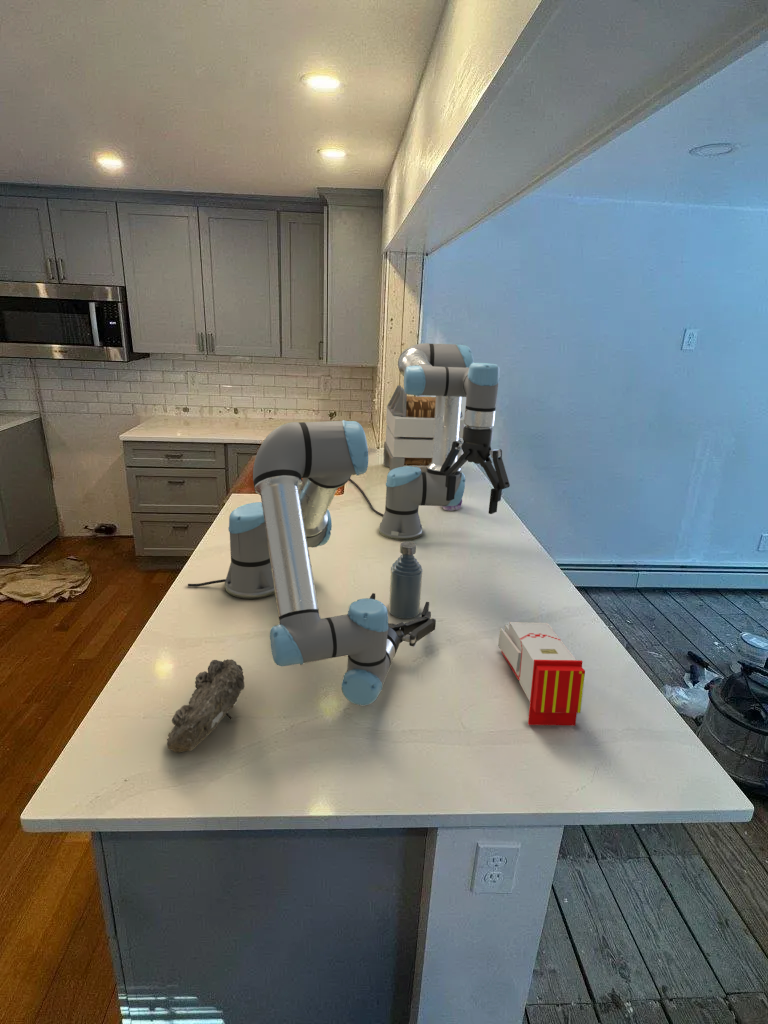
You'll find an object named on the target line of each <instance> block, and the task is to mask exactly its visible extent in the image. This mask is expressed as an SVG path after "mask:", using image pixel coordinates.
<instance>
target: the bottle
mask: <svg viewBox="0 0 768 1024" xmlns="http://www.w3.org/2000/svg"><path fill="white" fill-rule="evenodd" d="M423 572H424V570H423V568H422V565H421V563H420V562H419V561H418V559H417V558H416V557H415V556H414V554H413V555H404V554H402V553H401V555H400V556H399V557H398V558H397V559H396V560H395V561H394V562H393V563H392V565H391V567H390V578H389V579H390V580H389V597H388V599H389V600H388V613H389V614H390V615H391V616H393V617H396V618H399V619H414V618H415V617H418V615H419V614H420V611H421V601H422V598H421V597H422V584H423Z"/></svg>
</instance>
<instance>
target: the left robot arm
mask: <svg viewBox="0 0 768 1024" xmlns="http://www.w3.org/2000/svg"><path fill="white" fill-rule="evenodd" d="M368 468H369V449H368V440H367V437H366V432H365V430H364V427H363V426H362V425H361V423H360V422H358V421H355V420H345V419H342V420H329V421H327V420H326V421H303V422H300V421H293V422H287V423H283V424H281V425H279V426H277V427H276V428H275V429H273V430H272V431H271V432H270V433H268V435H266V437H265V438H264V440H263V441H262V443H261V444H260V446H259V448H258V450H257V453H256V455H255V459H254V462H253V469H252V481H253V482H252V483H253V489H254V492H255V494H258V495H259V496H260V501H261V502H260V501H259V502H257V501H256V502H249V503H246V504H242V505H239V506H238V507H236V508H234V509H233V510H232V511H231V512H230V514H229V516H228V518H229V519H228V527H227V528H228V532H229V548H230V549H229V550H230V551H229V552H230V564H229V568H228V571H227V573H226V578H224V579H217V580H210V581H205V582H200V583H187V587H192V588H193V587H204V586H208V585H214V584H220V583H221V584H222V583H224V585H225V592H227V594H228V595H230V596H232V597H235V598H238V599H245V600H254V599H262V598H267V597H269V596H273V595H274V597H275V601H276V609H277V615H278V622H279V623H278V624H277V625H273V626H271V628H270V629H269V642H270V645H269V646H270V652H271V656H272V659H273V662H274V664H275V665H277V666H279V667H289V666H296V665H300V666H302V665H304V664H308V663H313V662H318V661H324V660H328V659H335V658H341V657H346V656H347V669H346V671H345V672H344V674H343V676H342V681H341V686H340V687H341V692H342V694H343V696H344V697H345V699H346V700H347V701H349V702H350V703H351V704H354V705H358V706H369V705H371V704H373V703H374V702H376V700H377V699H378V697H379V695H380V693H381V692H382V690H383V687H384V684H385V681H386V679H387V676H388V673H389V671H390V669H391V666H392V663H393V661H394V659H395V657H396V654H397V651H398V649H399V647H400V644H401V643H403V642H407V643H408V645H409V646H410V647H415V645H416V644H417V643H418V642H419V641H420V640H422V639H423V638H425V637H426V636H428V635H429V634H431V633H433V632H434V631H435V630H436V623H437V619H436V618H431V616H432V612H431V611H430V610H429V609H430V601H425V603H424V606H423V608H422V612H421V615H420V617H418V618H415V619H413V620H409V621H407V622H403V621H401V622H399V623H390V622H389V614H388V613H389V610H388V608H387V606H386V605H385V604H384V603H383V602H382V601H380V600H378V599H376V593H375V592H372V593H371V595H370V596H369V598H367V597H365V598H359V599H357V600H356V601H353V602H351V603H350V604H349V606H348V611H347V614H341V615H335V616H328V617H322V618H321V616H320V609H319V608H320V607H319V603H318V597H317V592H316V585H315V580H314V574H313V568H312V562H311V556H310V550H309V548H313V549H314V548H317V547H322V546H325V545H326V544H327V543H328V542H329V540H330V538H331V535H332V533H331V531H332V527H333V525H332V523H333V521H332V515H331V513H330V510H329V507H330V505H331V504H332V501H333V499H334V497H335V495H336V493H337V491H338V488H339V489H340V488H341V487H343V486H345V485H346V484H347V483H348V482H349V481H350V480H349V479H351V477H352V476H355V475H356V476H360V475H364V474H365V473H366V472H367V471H368Z"/></svg>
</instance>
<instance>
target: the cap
mask: <svg viewBox="0 0 768 1024" xmlns="http://www.w3.org/2000/svg"><path fill="white" fill-rule="evenodd" d="M399 553H400V554H401V555H402V554H404V555H413V556H414V555H415V554H416V553H417V543H415V542H414V541H410V540H404V541H402V542H400V544H399Z"/></svg>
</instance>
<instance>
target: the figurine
mask: <svg viewBox="0 0 768 1024" xmlns="http://www.w3.org/2000/svg"><path fill="white" fill-rule="evenodd" d="M462 504H463V498H462V499H461V501H460V503H459V504H458V505H456V506H447V507H444V506H441V508H442V509H443V510H444V511H451V512H452V511H457V510H460V509H461V507H462Z"/></svg>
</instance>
